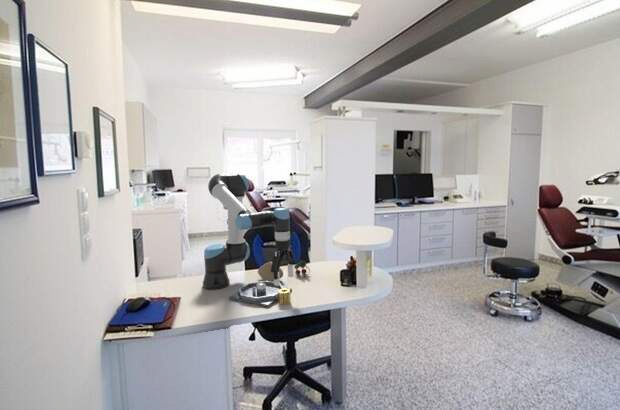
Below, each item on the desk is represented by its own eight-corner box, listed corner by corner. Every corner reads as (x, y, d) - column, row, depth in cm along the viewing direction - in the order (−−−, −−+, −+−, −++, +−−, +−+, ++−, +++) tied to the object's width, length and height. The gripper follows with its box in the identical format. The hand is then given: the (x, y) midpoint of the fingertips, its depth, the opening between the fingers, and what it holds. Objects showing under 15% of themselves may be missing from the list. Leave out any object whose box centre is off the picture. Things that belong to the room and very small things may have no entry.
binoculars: (308, 277, 213) (305, 262, 217) (313, 273, 205) (309, 257, 209) (294, 279, 209) (291, 264, 213) (299, 275, 202) (295, 259, 206)
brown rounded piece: (272, 288, 206) (287, 278, 198) (262, 290, 200) (277, 279, 192) (265, 268, 212) (279, 257, 204) (255, 269, 206) (270, 258, 198)
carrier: (229, 299, 174) (228, 287, 173) (256, 284, 196) (255, 273, 195) (267, 307, 164) (267, 295, 163) (291, 290, 185) (291, 279, 184)
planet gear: (276, 303, 169) (275, 291, 168) (282, 299, 174) (282, 287, 173) (286, 305, 166) (286, 293, 165) (292, 300, 171) (292, 289, 171)
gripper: (275, 245, 153) (277, 290, 156) (301, 235, 175) (302, 274, 178) (262, 244, 156) (263, 288, 159) (288, 234, 179) (289, 272, 181)
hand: (284, 280), depth 168 cm, fingers open, 13 cm apart
